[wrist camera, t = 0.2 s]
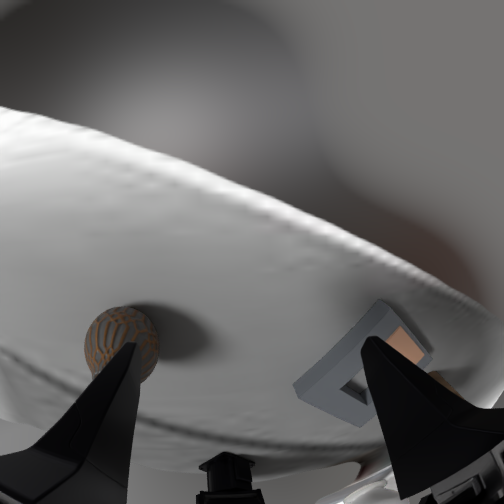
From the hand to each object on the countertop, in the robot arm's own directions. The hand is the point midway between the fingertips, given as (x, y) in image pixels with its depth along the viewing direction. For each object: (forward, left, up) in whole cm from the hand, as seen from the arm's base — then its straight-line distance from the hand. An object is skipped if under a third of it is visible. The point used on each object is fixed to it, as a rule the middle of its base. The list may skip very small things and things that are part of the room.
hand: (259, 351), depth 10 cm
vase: (-13, +2, -16) cm, 20 cm away
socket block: (-1, -23, -15) cm, 28 cm away
